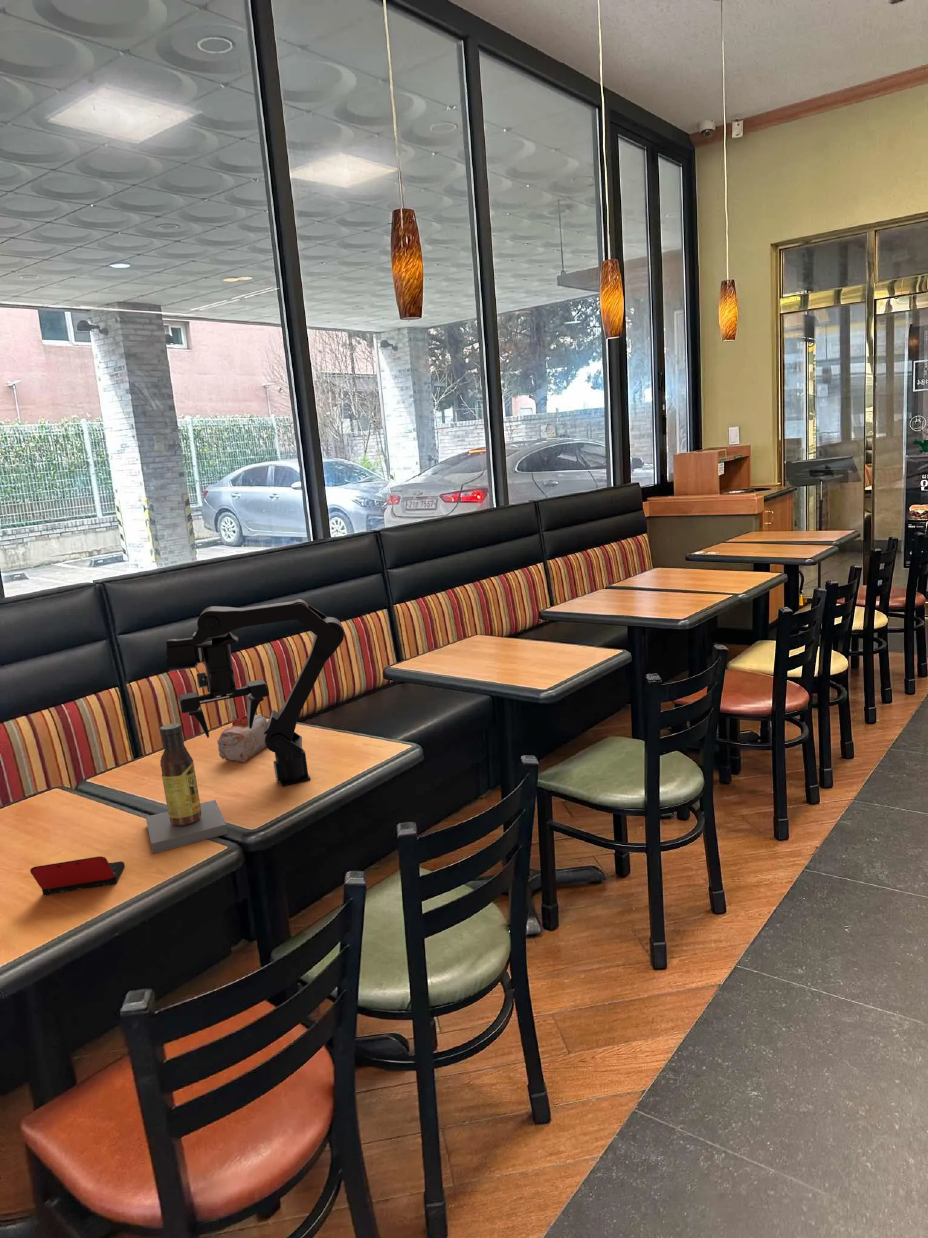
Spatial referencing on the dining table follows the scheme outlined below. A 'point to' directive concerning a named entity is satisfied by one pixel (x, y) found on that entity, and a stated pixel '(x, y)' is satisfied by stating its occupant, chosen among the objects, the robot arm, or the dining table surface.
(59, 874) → the handheld game console
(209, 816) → the stand
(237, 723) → the food item
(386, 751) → the dining table surface
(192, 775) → the sauce bottle
